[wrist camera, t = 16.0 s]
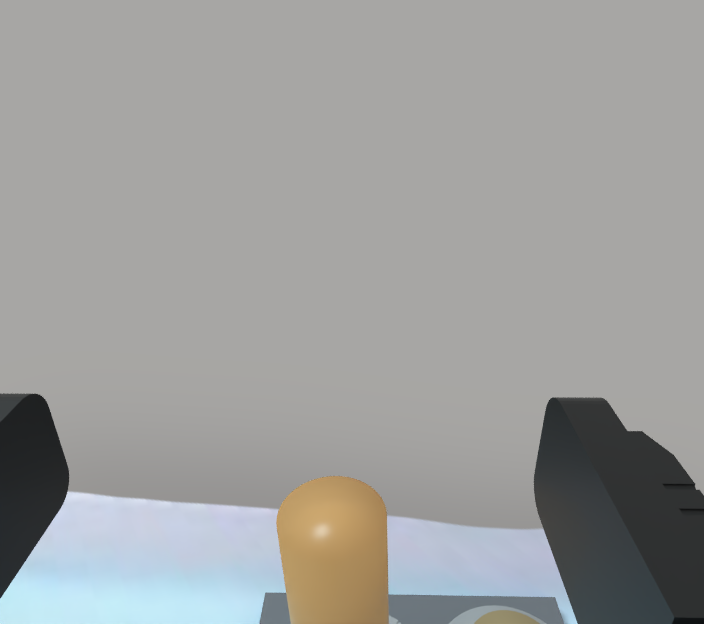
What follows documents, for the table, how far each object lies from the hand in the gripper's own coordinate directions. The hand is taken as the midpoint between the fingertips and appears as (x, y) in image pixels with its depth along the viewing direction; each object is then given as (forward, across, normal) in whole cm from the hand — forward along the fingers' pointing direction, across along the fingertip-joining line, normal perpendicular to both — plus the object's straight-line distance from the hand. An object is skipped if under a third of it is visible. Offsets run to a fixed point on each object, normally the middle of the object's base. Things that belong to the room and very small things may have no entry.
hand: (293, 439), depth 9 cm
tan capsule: (+11, 0, +28) cm, 30 cm away
